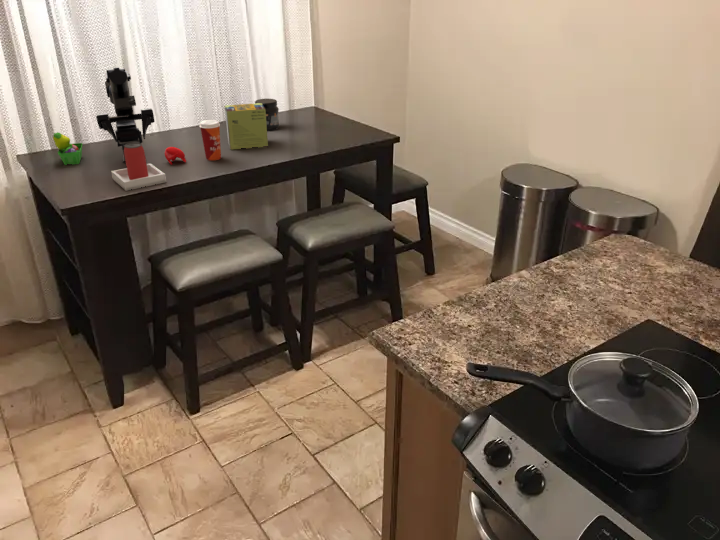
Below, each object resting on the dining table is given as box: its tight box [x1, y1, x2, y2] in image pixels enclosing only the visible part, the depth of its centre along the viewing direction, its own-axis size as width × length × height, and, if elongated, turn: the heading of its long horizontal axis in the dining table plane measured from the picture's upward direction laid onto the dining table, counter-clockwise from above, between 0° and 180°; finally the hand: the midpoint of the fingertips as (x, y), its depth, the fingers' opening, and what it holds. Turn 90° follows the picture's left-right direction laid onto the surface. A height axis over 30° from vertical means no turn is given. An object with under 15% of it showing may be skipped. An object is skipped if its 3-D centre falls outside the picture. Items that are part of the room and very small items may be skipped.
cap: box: [164, 146, 187, 166], centre depth 228 cm, size 8×6×6 cm
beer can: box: [124, 142, 148, 180], centre depth 208 cm, size 7×7×12 cm
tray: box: [110, 162, 167, 192], centre depth 211 cm, size 14×14×3 cm
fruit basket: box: [52, 131, 83, 166], centre depth 227 cm, size 11×9×11 cm
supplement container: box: [254, 98, 280, 131], centre depth 268 cm, size 10×10×12 cm
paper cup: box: [199, 119, 222, 161], centre depth 230 cm, size 8×8×14 cm
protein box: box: [223, 102, 269, 151], centre depth 245 cm, size 10×15×16 cm
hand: (130, 140), depth 211 cm, fingers open, 9 cm apart
